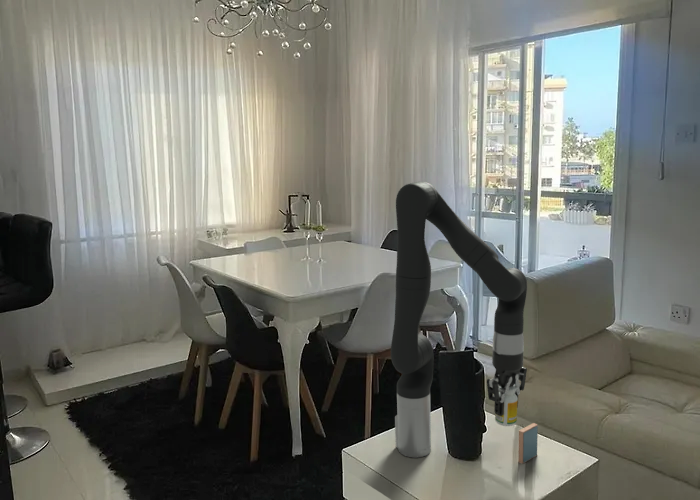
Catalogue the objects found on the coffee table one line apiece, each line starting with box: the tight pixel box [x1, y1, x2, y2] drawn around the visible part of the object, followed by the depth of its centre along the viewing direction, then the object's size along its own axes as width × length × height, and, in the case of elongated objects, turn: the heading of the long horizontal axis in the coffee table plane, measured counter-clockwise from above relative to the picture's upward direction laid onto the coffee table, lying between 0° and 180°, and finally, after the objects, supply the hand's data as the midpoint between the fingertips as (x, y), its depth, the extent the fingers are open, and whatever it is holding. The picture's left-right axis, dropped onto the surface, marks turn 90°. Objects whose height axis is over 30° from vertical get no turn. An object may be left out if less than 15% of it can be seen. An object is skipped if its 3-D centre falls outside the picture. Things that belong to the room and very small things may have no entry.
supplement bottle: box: [494, 386, 519, 427], centre depth 148 cm, size 5×5×10 cm
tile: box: [517, 422, 539, 465], centre depth 156 cm, size 2×6×9 cm, turn 128°
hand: (506, 410), depth 148 cm, fingers closed on supplement bottle, 5 cm apart
